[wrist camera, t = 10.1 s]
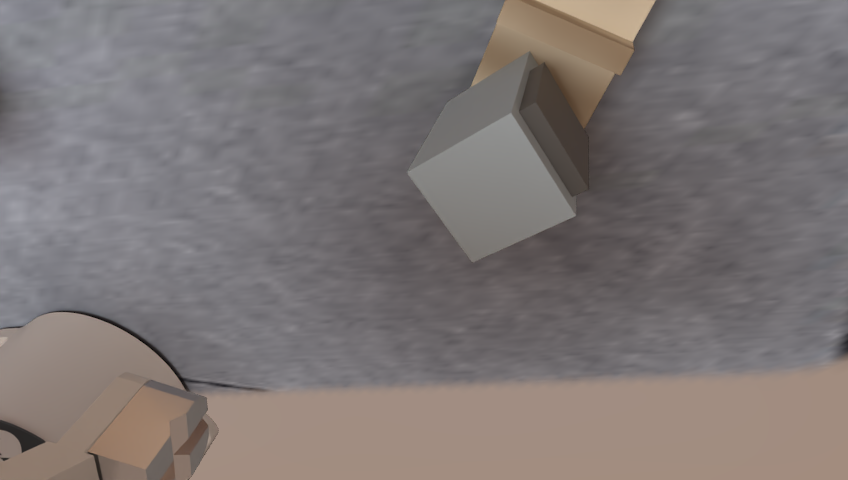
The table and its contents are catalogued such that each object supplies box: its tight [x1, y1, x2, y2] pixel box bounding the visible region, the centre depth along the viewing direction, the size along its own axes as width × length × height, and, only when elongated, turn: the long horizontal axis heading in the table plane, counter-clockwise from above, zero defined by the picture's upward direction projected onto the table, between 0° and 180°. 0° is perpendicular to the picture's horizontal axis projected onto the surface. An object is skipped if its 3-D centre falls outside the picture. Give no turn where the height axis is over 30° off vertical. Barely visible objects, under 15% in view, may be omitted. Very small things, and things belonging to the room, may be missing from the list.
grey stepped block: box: [407, 51, 589, 263], centre depth 22 cm, size 5×4×7 cm
